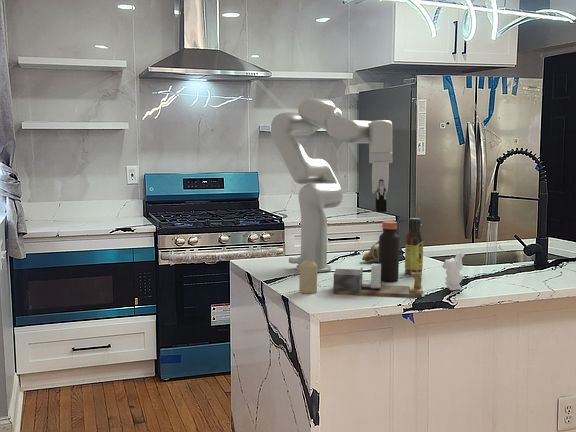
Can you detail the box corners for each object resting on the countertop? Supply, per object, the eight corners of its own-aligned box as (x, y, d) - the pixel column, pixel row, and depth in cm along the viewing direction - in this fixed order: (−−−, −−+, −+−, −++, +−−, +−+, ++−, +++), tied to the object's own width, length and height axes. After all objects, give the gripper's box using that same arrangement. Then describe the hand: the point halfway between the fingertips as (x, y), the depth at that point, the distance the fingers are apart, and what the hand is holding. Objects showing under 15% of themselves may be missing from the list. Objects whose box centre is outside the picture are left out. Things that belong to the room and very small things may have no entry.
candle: (298, 289, 214) (298, 258, 213) (315, 289, 214) (316, 258, 213) (300, 294, 208) (300, 262, 207) (317, 293, 209) (318, 262, 208)
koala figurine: (457, 286, 222) (458, 250, 220) (471, 290, 216) (473, 253, 214) (436, 288, 218) (438, 251, 216) (450, 292, 212) (452, 255, 210)
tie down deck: (333, 294, 209) (333, 273, 208) (335, 286, 220) (336, 266, 219) (423, 297, 205) (424, 276, 204) (421, 289, 216) (422, 269, 215)
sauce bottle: (422, 275, 237) (424, 219, 235) (404, 274, 238) (406, 219, 236) (422, 272, 244) (424, 217, 241) (404, 271, 245) (406, 217, 242)
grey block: (337, 287, 212) (337, 264, 211) (338, 284, 216) (338, 262, 215) (380, 289, 210) (381, 266, 209) (380, 286, 214) (381, 263, 213)
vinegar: (385, 283, 225) (387, 223, 222) (374, 279, 231) (375, 221, 228) (402, 281, 228) (404, 222, 226) (390, 277, 234) (392, 220, 232)
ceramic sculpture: (397, 238, 266) (387, 245, 252) (397, 259, 267) (387, 268, 254) (371, 236, 270) (360, 244, 257) (372, 257, 272) (360, 266, 258)
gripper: (368, 158, 228) (369, 208, 230) (369, 159, 211) (369, 213, 213) (391, 158, 228) (391, 208, 229) (393, 158, 210) (393, 213, 212)
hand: (380, 210), depth 221 cm, fingers open, 9 cm apart
